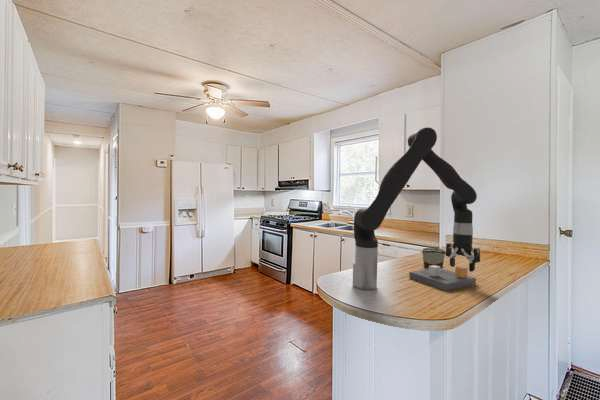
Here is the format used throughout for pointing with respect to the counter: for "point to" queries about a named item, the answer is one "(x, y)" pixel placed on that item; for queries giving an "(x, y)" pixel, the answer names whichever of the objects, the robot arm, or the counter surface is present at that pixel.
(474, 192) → the robot arm
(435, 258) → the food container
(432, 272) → the grey fader
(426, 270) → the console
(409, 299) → the counter surface
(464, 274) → the orange fader
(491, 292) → the counter surface
